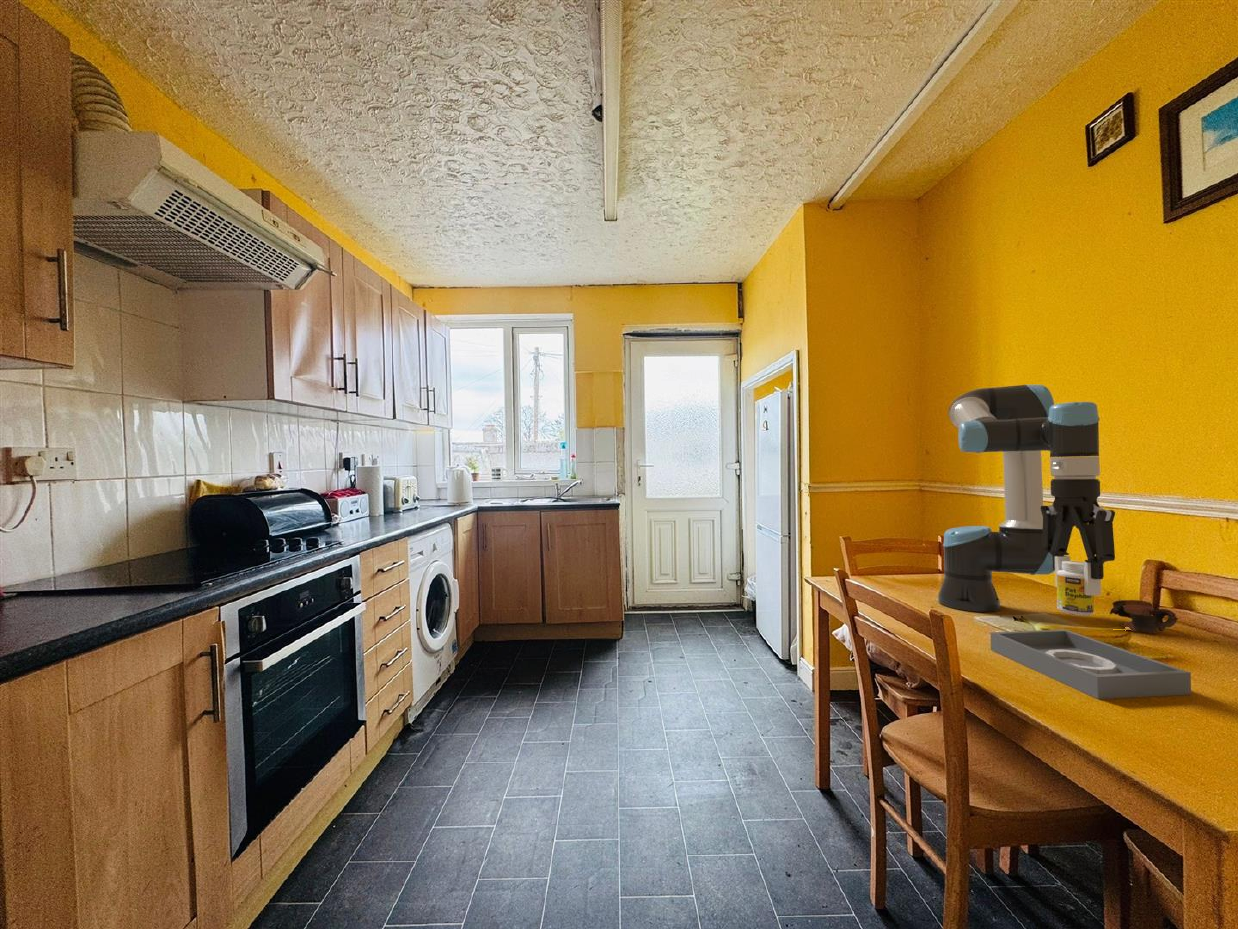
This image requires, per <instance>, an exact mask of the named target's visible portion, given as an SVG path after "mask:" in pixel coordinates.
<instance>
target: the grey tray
mask: <svg viewBox="0 0 1238 929" xmlns="http://www.w3.org/2000/svg"><path fill="white" fill-rule="evenodd" d="M989 635H990V651H992V652H994V653H996V654H998V655H1001V656H1003V657H1005V658H1007V659H1009V660H1012V661H1013V662H1016V663H1018V664H1020V665H1023V666H1025V667H1026V668H1028V669H1031V670H1034V671H1035V672H1038V673H1040V674H1042V675H1045V676H1046V677H1049V678H1051V679H1053V680H1055V681H1057V682H1059V683H1062V684H1064V685H1065V686H1068V687H1071V688H1073V689H1075V690H1077V691H1079V692H1081V693H1083V694H1085V695H1088V696H1090V697H1092V698H1095V699H1097V700H1106V699H1125V698H1126V699H1127V698H1146V697H1147V698H1149V697H1151V698H1152V697H1163V696H1164V697H1165V696H1167V697H1168V696H1170V697H1171V696H1189V695H1192V681H1191V680H1192V679H1191V678H1192V674H1191V673H1192V672H1190V671H1188V670H1184V669H1181V668H1179V667H1176V666H1172V665H1170V664H1166V663H1164V662H1162V661H1159V660H1155V659H1153V658H1150V657H1147V656H1143V655H1141V654H1137V653H1134V652H1132V651H1129V650H1126V649H1124V648H1120V647H1117V646H1114V645H1111V644H1109V643H1105V642H1104V641H1100V640H1098V639H1094V638H1091V637H1088V636H1086V635H1082V634H1080V633H1076V632H1073V631H1071V630H1068V629H1065V628H1064V629H1043V630H1041V629H1040V630H1024V631H1023V630H1019V631H1018V630H1016V631H995V632H994V631H993V632H992V631H991V632H990V634H989Z"/></svg>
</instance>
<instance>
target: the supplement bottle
mask: <svg viewBox="0 0 1238 929" xmlns="http://www.w3.org/2000/svg"><path fill="white" fill-rule="evenodd" d="M1062 569H1063V570H1059V571H1058V572H1057V587H1056V607H1057V609H1058V611H1060V612H1062V613H1066V614H1070V615H1075V616H1092V615H1093V613H1094V607H1095V605H1094V600H1095V599H1094V596H1095V595H1085V592H1084V561H1083V562H1082V561H1074V560H1073V561H1072V560H1070V561H1062Z"/></svg>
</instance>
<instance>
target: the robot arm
mask: <svg viewBox="0 0 1238 929" xmlns="http://www.w3.org/2000/svg"><path fill="white" fill-rule="evenodd" d="M948 408H949V409H948V417H949V420H950V421H951V423H952V424H953V425H954V426H955V427H957V428H958V436H957V437H958V446H959V450H960V451H961V452H963V453H976V454H980V453H996V452H997V453H1000V452H1002V455H1003V456H1002V458H1003V460H1002V461H1003V486H1004V488H1003V489H1004V492H1003V493H1004V513H1005V514H1004V516H1005V519H1004V521H1003V522H1001V523H999V525H998V528H999V529H998V530H999V531H992V529H991V526H990V527H989V526H987V525H982V526H981V525H970V526H958V527H953V528H949V529H947V530H946V531H944V533H943V544H942V547H943V554H944V555H943V558H944V559H943V560H944V562H943V566H944V567H943V570H944V572H943V573H944V578H943V581H942V583H941V587H940V590H939V592H938V594H937V595H938V596H937V598H938V599H937V602H938V603H939V604H941V605H942V606H944V607H948V608H951V609H956V610H959V611H966V612H967V611H968V612H979V613H981V612H983V613H989V612H991V613H993V612H997V611H1000V609H1001V601H1000V598H999V596H998V594H997V590H996V588H995V585H994V584H993V574H992V573H993V572H995V573H1008V574H1009V573H1010V574H1022V575H1023V574H1024V575H1030V576H1035V575H1038V576H1039V575H1040V576H1041V575H1043V576H1045V575H1046V576H1047V575H1051V574H1053V573H1054V580H1055V581H1054V583H1055V584H1054V586H1055V588H1057V572H1058V571H1059V570H1063V569H1062V561H1071V556H1069V555H1070V553H1069V552H1068V547H1069V545H1070V540H1071V536H1072V532H1073V528H1074V527H1075V528H1076V529H1078V532H1079V534H1080V538H1081V541H1082V544H1083V547H1084V550H1085V551H1084V552H1085V554H1086V558H1087V559H1084V561H1083V563H1084V592H1085V595H1094V596H1101V595H1102V580H1103V579H1104V574H1105V573H1104V564H1105V563H1107V562H1114V561H1115V559H1116V554H1115V553H1116V552H1115V538H1114V526H1113V523H1114V522H1113V521H1114V519H1115V517H1116V516H1115V515H1116V512H1115V510H1113V509H1105V508H1103V507H1100V504H1099V503H1098V498H1099V497H1100V496H1101V481H1100V480H1099V478H1097V477H1099V476H1101V470H1100V469H1101V467H1100V465H1101V464H1100V434H1099V432H1100V431H1099V429H1100V428H1099V426H1100V425H1099V424H1100V423H1099V422H1100V419H1101V418H1100V417H1099V409H1098V406H1097V404H1096V403H1095V402H1092V401H1076V402H1075V401H1073V402H1065V403H1064V402H1063V403H1056V404H1055V401H1054V397H1053V395H1052V393H1051V391H1050V390H1049V388H1048V387H1047V386H1046V385H1042V384H1022V385H1009V386H997V387H984V388H983V387H982V388H978V389H974V390H970V391H968V392H965V393H963V394H961V395H959V396H958V397H957V398H956V399H954V400H953V401H952V403H951V404H950V406H949V407H948ZM1042 451H1044V452H1045V451H1049V460H1050V462H1049V463H1050V464H1049V465H1050V466H1049V469H1050V472H1049V473H1050V476H1051V477H1054V478H1052V479H1051V480H1050V496H1052V497H1054V500H1053V503H1052V504H1049V505H1044V493H1043V492H1044V491H1043V469H1042V468H1043V467H1042V466H1043V464H1042V463H1043V462H1042Z"/></svg>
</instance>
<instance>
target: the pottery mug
mask: <svg viewBox="0 0 1238 929" xmlns="http://www.w3.org/2000/svg"><path fill="white" fill-rule="evenodd" d="M1112 606H1113V607H1112V608H1111V609H1110V612H1109V614H1110V615H1112V614H1114V615H1115V616H1116V615H1117V616H1119V617H1121V618H1129V619H1131V621H1124V622H1122V626H1123V628H1124V627H1129V628H1130V629H1131V631H1130V632H1138V633H1139V632H1140V633H1141V632H1142V633H1143V634H1144V633H1145V634H1151V635H1157V632H1158V631H1160V632H1163V631H1164V630H1165V629H1167V628H1171V627H1173V626H1175V624H1176V623H1177V622H1178V618H1177V616H1176V613H1174V612H1173V611H1172V610H1170V609H1166V608H1160V609H1159V608H1154V606H1153V604H1152V603H1151V602H1149V601H1146V600H1139V599H1123V600H1122V599H1121V600H1116V601H1113V602H1112ZM1152 614H1153V615H1152ZM1165 616H1168V617H1167V619H1166V620H1165V621H1164V618H1165Z"/></svg>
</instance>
